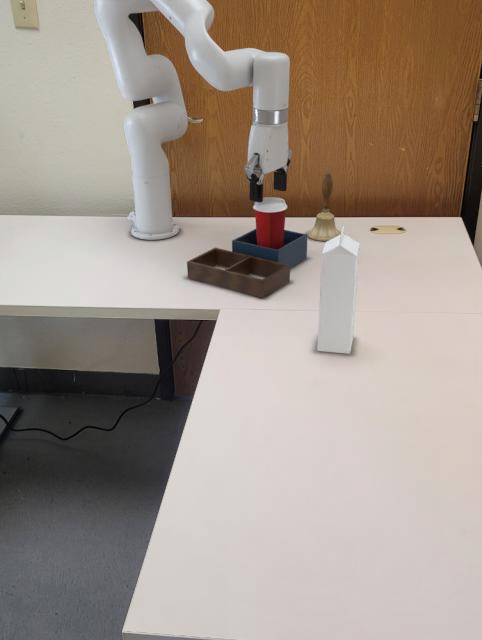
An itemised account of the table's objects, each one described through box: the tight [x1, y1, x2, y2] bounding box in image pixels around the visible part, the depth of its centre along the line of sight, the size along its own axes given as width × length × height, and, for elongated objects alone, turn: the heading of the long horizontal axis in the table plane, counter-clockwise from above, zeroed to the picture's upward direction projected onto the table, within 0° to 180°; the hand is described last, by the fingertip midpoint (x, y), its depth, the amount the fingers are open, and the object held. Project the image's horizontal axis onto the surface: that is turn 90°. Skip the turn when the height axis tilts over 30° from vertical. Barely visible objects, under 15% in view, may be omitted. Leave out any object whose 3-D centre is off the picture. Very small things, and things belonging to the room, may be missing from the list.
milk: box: [316, 225, 361, 355], centre depth 128 cm, size 6×6×22 cm
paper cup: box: [252, 196, 288, 250], centre depth 166 cm, size 8×8×14 cm
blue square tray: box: [231, 228, 309, 270], centre depth 169 cm, size 13×13×6 cm
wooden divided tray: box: [186, 247, 291, 299], centre depth 160 cm, size 20×11×4 cm, turn 54°
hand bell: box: [307, 172, 341, 242], centre depth 180 cm, size 8×8×16 cm
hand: (268, 195), depth 162 cm, fingers open, 9 cm apart
